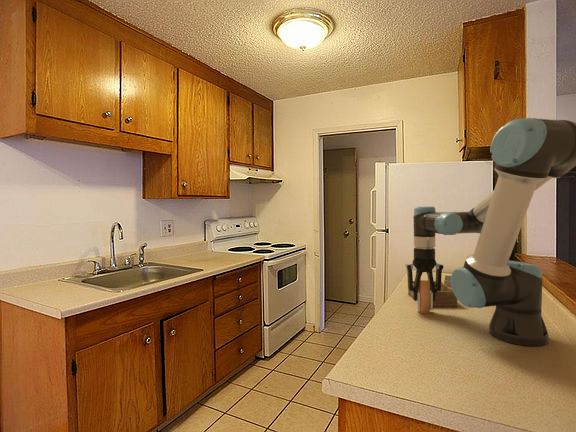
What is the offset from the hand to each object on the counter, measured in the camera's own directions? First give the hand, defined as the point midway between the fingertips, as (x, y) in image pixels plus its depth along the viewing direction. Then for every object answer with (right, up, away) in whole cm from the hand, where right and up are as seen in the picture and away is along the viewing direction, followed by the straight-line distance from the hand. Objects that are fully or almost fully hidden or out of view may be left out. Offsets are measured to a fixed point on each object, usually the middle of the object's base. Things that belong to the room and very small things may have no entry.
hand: (424, 309), depth 127 cm
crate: (+9, -1, +15) cm, 18 cm away
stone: (+28, 0, +30) cm, 41 cm away
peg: (0, -1, 0) cm, 1 cm away
